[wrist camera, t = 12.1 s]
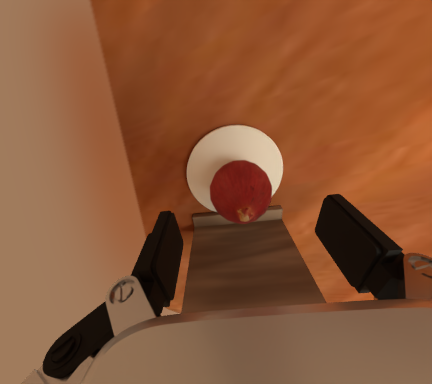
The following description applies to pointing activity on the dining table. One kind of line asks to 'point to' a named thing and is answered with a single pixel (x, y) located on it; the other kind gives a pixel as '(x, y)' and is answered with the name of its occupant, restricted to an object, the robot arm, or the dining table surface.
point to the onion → (240, 191)
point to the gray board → (246, 265)
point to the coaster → (231, 157)
